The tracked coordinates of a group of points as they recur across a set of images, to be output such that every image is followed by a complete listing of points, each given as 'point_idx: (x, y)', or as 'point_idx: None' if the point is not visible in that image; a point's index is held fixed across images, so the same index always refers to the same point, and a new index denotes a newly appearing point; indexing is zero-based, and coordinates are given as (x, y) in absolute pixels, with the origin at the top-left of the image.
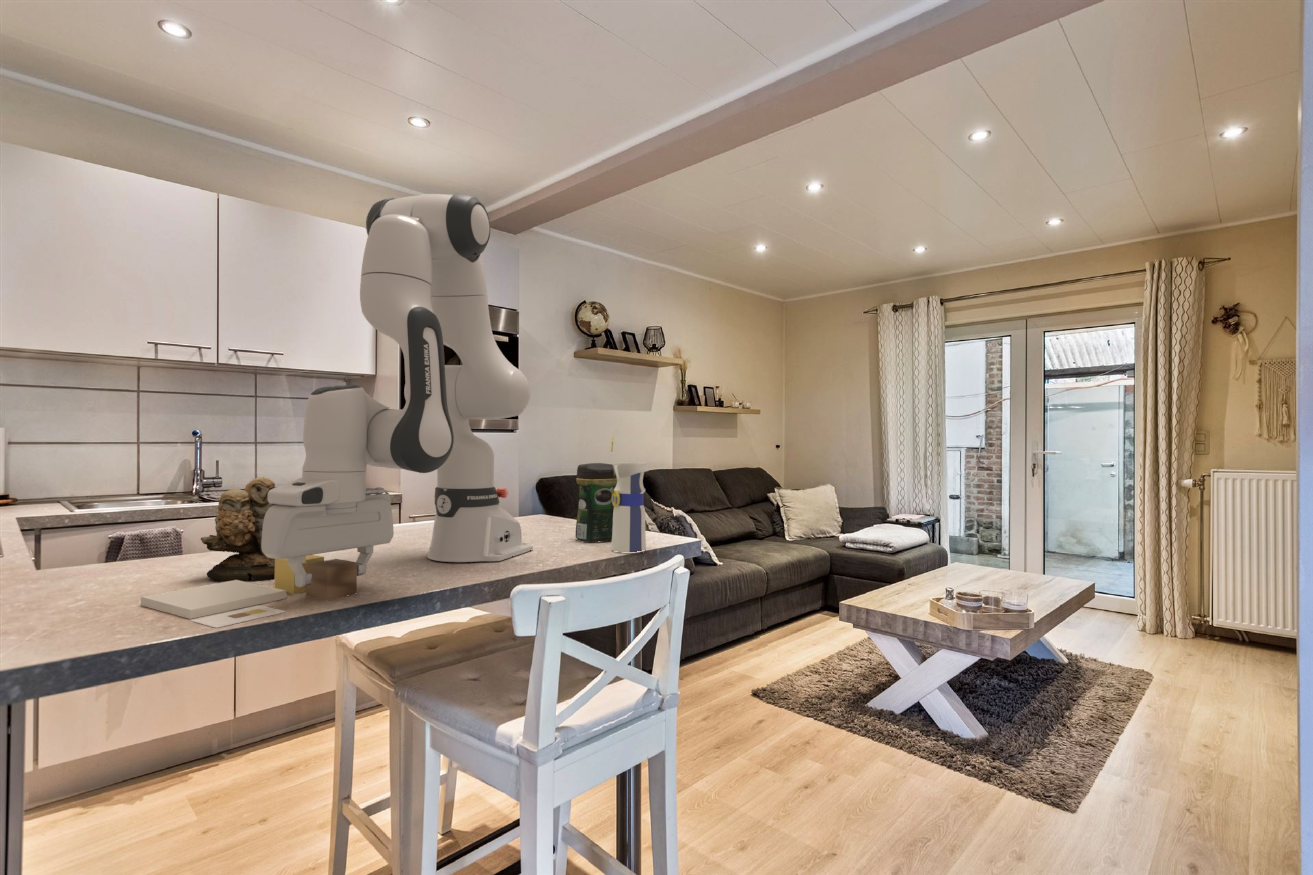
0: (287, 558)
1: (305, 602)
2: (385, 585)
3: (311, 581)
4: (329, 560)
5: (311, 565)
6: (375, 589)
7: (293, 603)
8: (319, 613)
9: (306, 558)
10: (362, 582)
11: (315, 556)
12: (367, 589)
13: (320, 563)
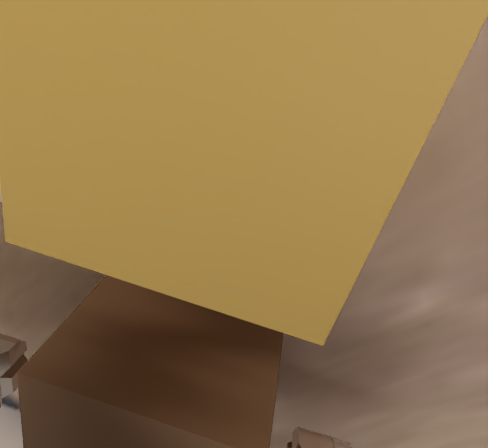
0: (70, 10)
1: (63, 304)
2: (421, 438)
3: (13, 391)
4: (192, 443)
5: (23, 406)
6: (336, 429)
7: (30, 274)
8: (10, 402)
9: (179, 239)
10: (481, 333)
11: (320, 254)
12: (328, 405)
13: (80, 437)
